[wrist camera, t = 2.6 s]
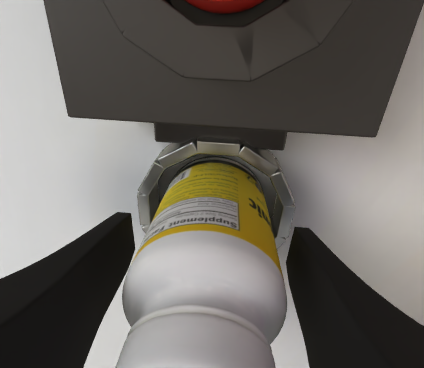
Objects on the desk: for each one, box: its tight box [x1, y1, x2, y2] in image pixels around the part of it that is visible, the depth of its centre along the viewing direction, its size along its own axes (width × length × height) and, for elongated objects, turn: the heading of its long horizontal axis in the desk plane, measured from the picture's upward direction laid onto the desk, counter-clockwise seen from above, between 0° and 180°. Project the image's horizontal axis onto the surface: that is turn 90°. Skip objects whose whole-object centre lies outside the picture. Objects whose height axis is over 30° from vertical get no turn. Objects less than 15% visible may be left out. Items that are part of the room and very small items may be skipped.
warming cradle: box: [137, 123, 295, 249], centre depth 13 cm, size 9×8×2 cm
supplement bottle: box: [116, 157, 287, 368], centre depth 10 cm, size 5×5×10 cm
